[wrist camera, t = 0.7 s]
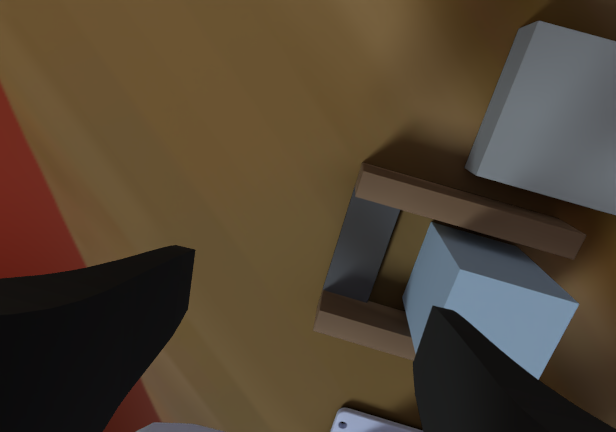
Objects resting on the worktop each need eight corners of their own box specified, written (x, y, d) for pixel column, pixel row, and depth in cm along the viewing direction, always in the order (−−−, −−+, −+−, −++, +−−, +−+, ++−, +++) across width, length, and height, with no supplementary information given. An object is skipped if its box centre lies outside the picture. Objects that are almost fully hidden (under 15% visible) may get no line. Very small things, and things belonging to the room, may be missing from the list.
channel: (491, 357, 22) (507, 388, 20) (317, 305, 23) (313, 330, 20) (558, 218, 20) (586, 234, 17) (362, 162, 20) (363, 171, 18)
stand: (593, 204, 19) (619, 216, 18) (464, 167, 20) (476, 175, 18) (662, 67, 18) (700, 64, 16) (518, 28, 18) (538, 20, 16)
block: (482, 320, 22) (527, 400, 16) (402, 296, 22) (418, 367, 16) (516, 246, 21) (579, 303, 15) (431, 221, 21) (460, 269, 15)
